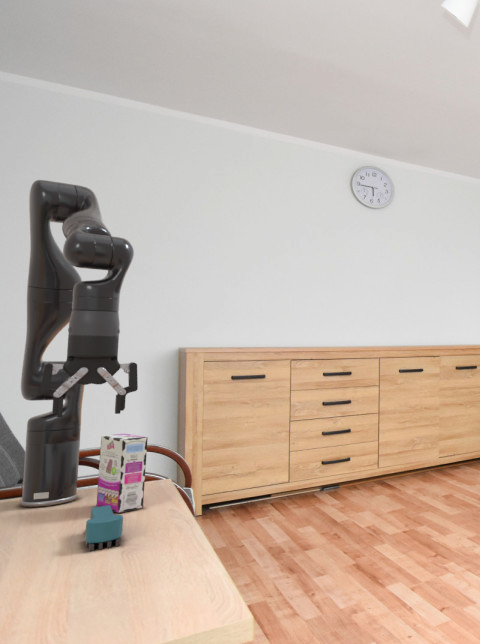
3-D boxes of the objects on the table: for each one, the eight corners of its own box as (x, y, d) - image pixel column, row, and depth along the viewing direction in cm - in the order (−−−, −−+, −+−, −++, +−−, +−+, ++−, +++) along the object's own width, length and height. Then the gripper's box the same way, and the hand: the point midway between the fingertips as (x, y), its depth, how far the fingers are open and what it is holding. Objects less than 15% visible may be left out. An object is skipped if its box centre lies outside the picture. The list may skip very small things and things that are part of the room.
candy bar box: (145, 508, 128) (149, 436, 129) (118, 514, 124) (122, 439, 124) (121, 501, 133) (125, 432, 134) (95, 506, 129) (99, 435, 130)
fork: (82, 530, 113) (83, 524, 113) (114, 525, 116) (114, 519, 116) (87, 551, 101) (87, 545, 101) (121, 545, 105) (122, 539, 105)
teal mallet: (82, 527, 111) (83, 508, 111) (116, 521, 115) (117, 504, 115) (85, 545, 101) (87, 524, 102) (123, 538, 105) (124, 519, 105)
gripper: (137, 334, 119) (133, 410, 119) (43, 332, 109) (38, 415, 109) (142, 334, 114) (137, 414, 113) (44, 332, 104) (38, 420, 103)
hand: (89, 415), depth 111 cm, fingers open, 8 cm apart
